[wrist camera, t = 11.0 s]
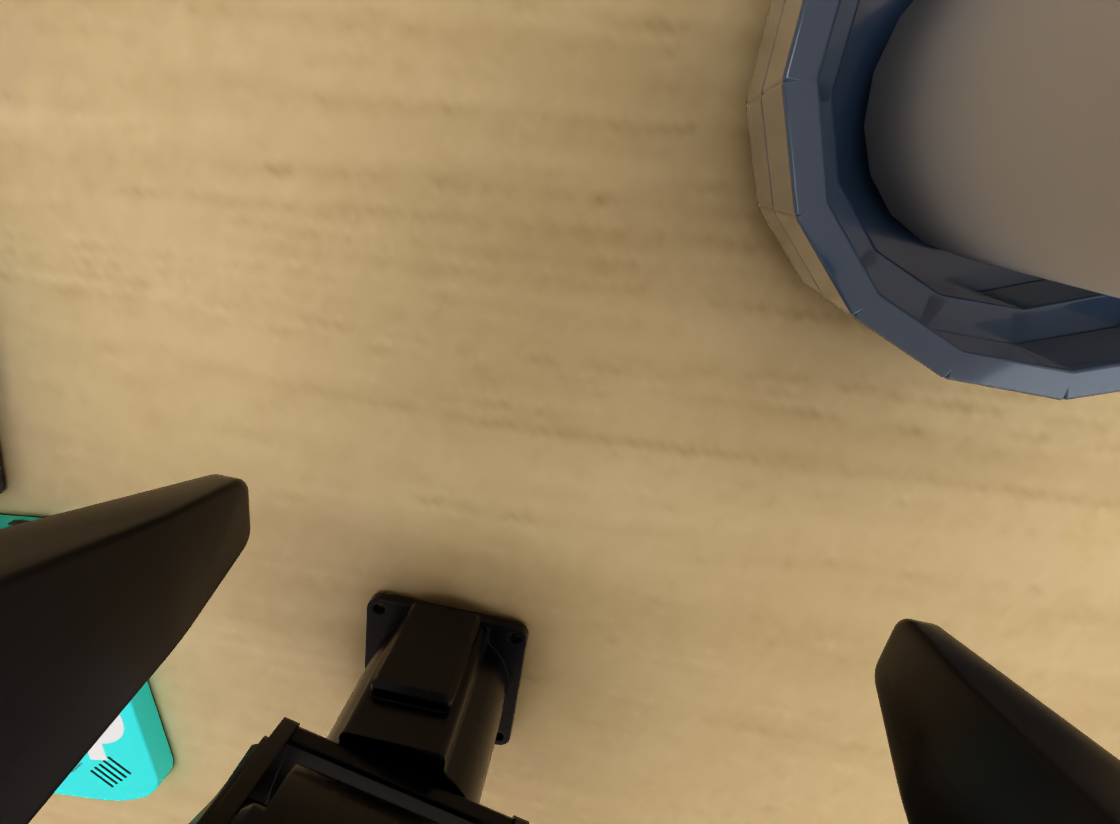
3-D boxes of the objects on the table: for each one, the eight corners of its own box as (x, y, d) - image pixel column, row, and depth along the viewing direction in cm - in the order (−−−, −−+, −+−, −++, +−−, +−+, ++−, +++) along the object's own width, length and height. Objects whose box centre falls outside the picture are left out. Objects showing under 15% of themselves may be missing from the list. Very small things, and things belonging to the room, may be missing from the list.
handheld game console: (10, 764, 32) (-16, 788, 30) (-115, 502, 26) (-154, 519, 24) (184, 787, 31) (164, 813, 29) (94, 519, 25) (65, 537, 23)
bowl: (1134, 374, 18) (1310, 447, 13) (695, 295, 18) (713, 337, 14) (1461, -204, 12) (1942, -425, 8) (837, -282, 13) (942, -525, 9)
